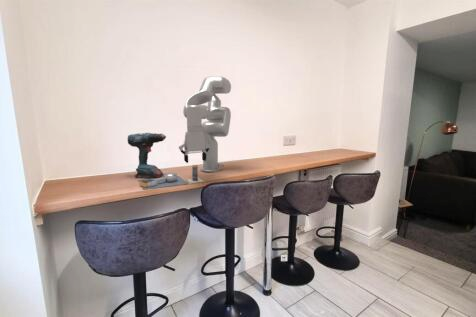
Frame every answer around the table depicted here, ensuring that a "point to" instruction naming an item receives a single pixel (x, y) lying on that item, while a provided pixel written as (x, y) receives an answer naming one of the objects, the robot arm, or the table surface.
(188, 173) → the table surface
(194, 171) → the key
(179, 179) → the board
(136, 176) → the power drill
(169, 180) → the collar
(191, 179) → the pad
